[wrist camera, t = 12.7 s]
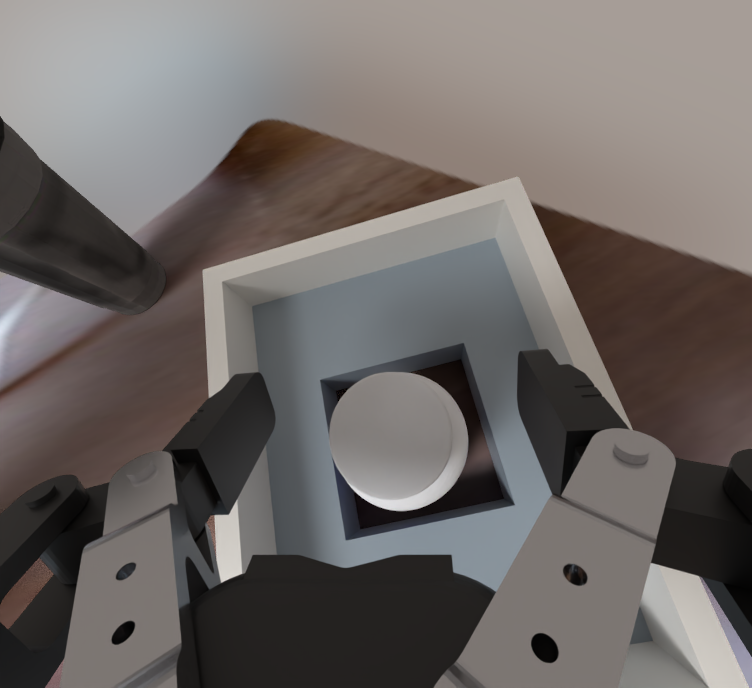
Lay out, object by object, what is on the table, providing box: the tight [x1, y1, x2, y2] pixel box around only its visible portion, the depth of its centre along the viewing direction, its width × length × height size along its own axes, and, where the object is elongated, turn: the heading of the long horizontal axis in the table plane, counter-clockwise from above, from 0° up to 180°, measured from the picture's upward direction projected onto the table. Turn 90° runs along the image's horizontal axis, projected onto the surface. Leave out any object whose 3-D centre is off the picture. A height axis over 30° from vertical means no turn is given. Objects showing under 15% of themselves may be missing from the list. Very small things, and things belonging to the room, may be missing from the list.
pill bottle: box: [329, 372, 468, 511], centre depth 16 cm, size 5×5×9 cm
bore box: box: [203, 177, 749, 688], centre depth 17 cm, size 16×20×6 cm
